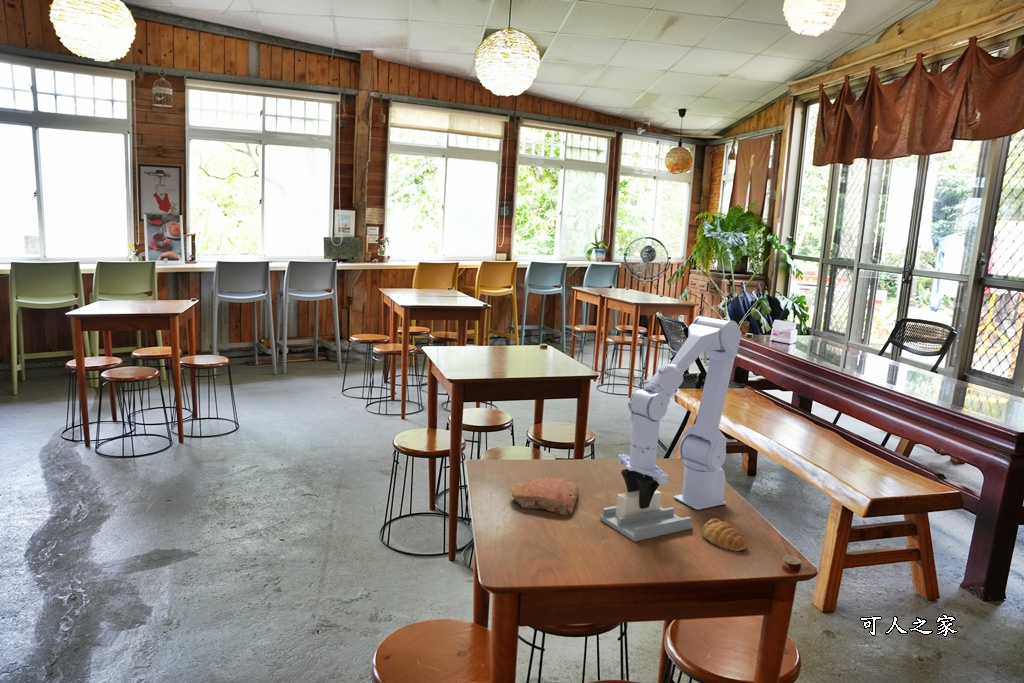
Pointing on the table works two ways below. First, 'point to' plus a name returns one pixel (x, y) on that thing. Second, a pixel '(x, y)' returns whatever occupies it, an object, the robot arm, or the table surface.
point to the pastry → (724, 535)
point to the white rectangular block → (635, 504)
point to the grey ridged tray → (646, 523)
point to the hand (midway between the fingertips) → (638, 504)
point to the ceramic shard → (547, 494)
